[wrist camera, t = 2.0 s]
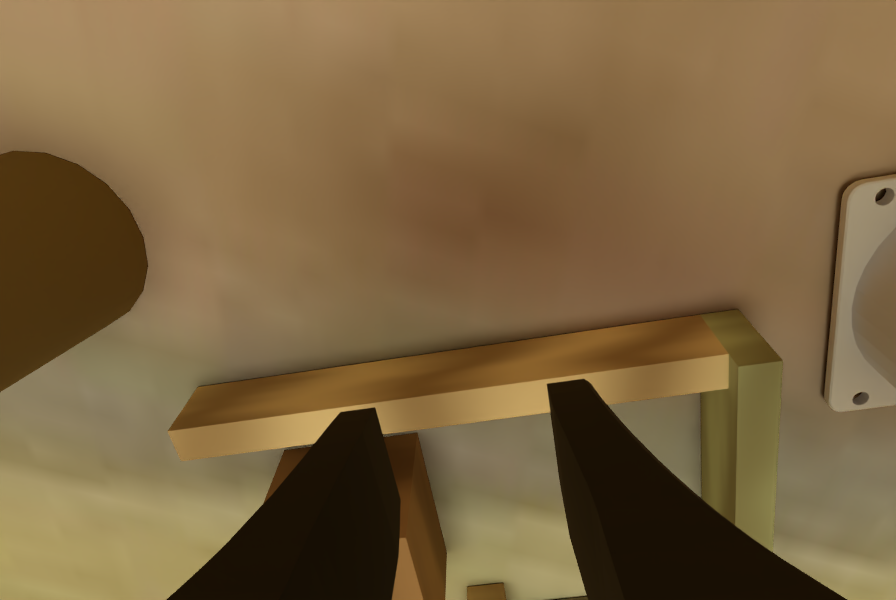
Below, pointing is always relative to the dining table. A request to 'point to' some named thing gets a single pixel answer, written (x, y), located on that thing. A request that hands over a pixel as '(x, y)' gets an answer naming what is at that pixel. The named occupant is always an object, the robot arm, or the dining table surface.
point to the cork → (60, 260)
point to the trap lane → (532, 400)
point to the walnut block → (403, 519)
